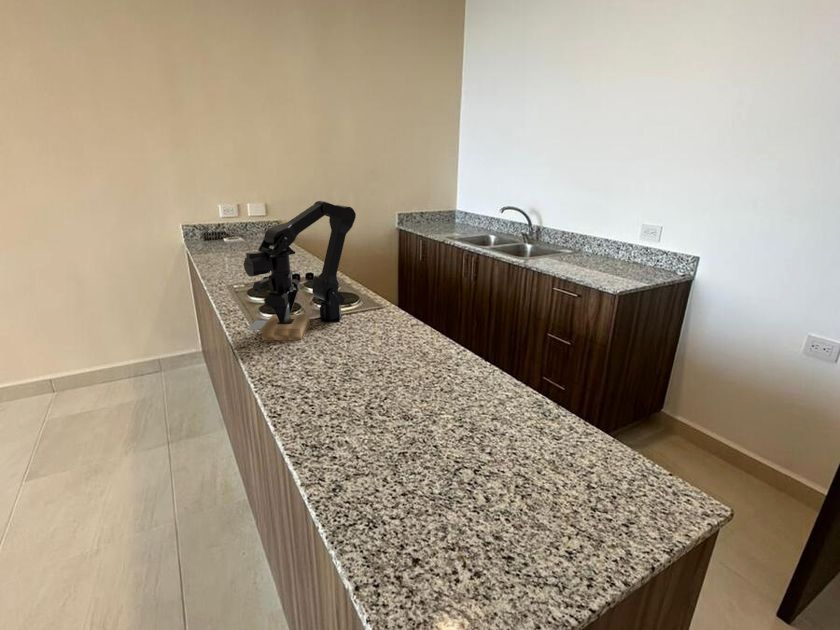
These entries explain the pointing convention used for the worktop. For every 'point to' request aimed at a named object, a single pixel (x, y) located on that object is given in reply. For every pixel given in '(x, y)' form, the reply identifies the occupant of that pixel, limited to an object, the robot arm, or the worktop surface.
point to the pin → (287, 317)
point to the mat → (257, 325)
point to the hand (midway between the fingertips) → (285, 317)
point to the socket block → (285, 328)
